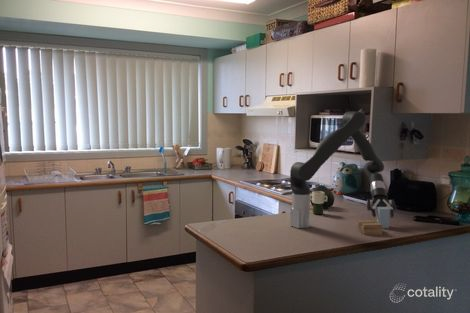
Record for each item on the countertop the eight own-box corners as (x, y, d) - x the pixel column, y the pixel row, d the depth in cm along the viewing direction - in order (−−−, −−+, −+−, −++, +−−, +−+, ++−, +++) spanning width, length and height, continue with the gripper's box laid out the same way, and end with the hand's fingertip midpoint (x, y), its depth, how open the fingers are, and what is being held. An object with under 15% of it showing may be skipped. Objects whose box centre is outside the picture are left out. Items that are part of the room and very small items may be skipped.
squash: (324, 203, 246) (332, 182, 253) (303, 200, 256) (311, 181, 263) (333, 215, 255) (340, 195, 262) (312, 212, 265) (319, 193, 271)
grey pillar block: (389, 228, 210) (389, 209, 209) (379, 228, 211) (379, 208, 210) (386, 225, 215) (387, 207, 214) (376, 225, 216) (377, 206, 215)
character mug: (328, 213, 242) (329, 192, 241) (325, 216, 236) (325, 193, 235) (311, 211, 247) (311, 190, 246) (307, 214, 241) (307, 192, 240)
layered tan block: (381, 234, 199) (382, 224, 199) (363, 235, 199) (364, 225, 198) (374, 229, 208) (374, 220, 208) (357, 230, 207) (357, 220, 207)
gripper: (366, 186, 220) (370, 212, 210) (393, 187, 219) (399, 213, 208) (363, 194, 226) (367, 220, 216) (390, 195, 225) (395, 220, 214)
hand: (383, 216), depth 212 cm, fingers open, 8 cm apart
